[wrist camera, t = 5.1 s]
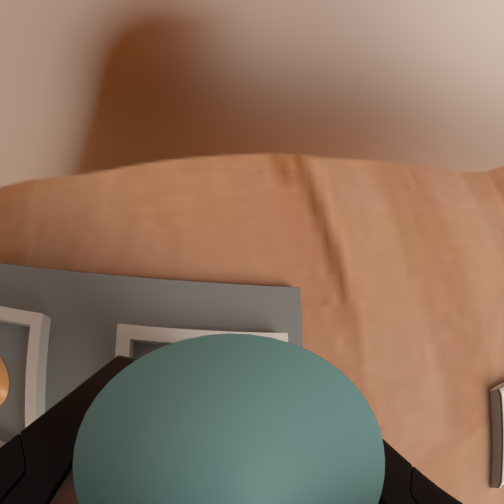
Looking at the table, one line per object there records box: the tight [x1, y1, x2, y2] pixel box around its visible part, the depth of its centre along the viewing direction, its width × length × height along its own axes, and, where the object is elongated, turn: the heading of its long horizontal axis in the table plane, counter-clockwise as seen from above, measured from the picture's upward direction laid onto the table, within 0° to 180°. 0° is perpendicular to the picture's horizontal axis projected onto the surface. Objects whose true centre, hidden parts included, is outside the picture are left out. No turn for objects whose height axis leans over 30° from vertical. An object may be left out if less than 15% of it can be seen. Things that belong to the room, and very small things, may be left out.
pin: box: [73, 333, 385, 504], centre depth 7 cm, size 4×4×10 cm
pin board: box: [0, 263, 302, 447], centre depth 11 cm, size 20×12×2 cm, turn 90°
